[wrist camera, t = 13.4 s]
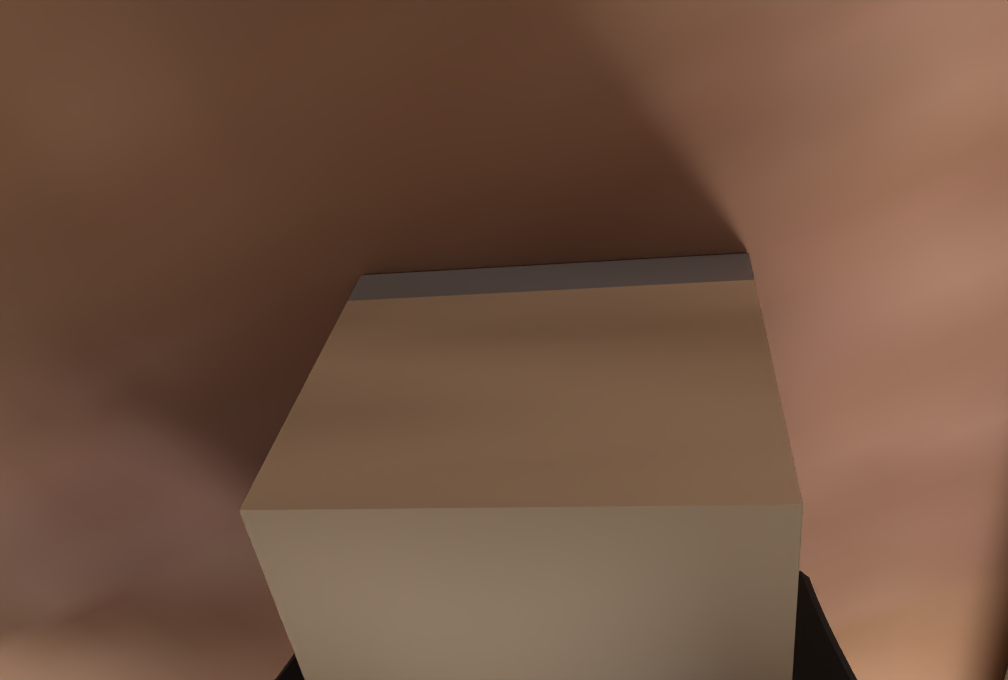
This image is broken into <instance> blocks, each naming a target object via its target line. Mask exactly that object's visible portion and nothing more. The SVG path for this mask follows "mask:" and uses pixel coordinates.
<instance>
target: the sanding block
mask: <svg viewBox="0 0 1008 680" xmlns="http://www.w3.org/2000/svg"><path fill="white" fill-rule="evenodd" d="M239 512H240V514H241V517H242V519H243V522H244V525H245V527H246V530H247V532H248V535H249V537H250V540H251V543H252V545H253V548H254V550H255V553H256V556H257V558H258V561H259V563H260V566H261V568H262V571H263V574H264V576H265V579H266V581H267V584H268V586H269V589H270V592H271V594H272V597H273V599H274V602H275V604H276V607H277V610H278V612H279V615H280V617H281V620H282V622H283V625H284V628H285V630H286V633H287V635H288V638H289V641H290V643H291V646H292V648H293V651H294V653H295V656H296V659H297V661H298V664H299V666H300V669H301V671H302V674H303V677H304V679H305V680H792V674H793V658H794V642H795V626H796V610H797V594H798V578H799V562H800V546H801V530H802V514H803V502H802V497H801V492H800V488H799V483H798V479H797V474H796V469H795V465H794V460H793V455H792V451H791V446H790V442H789V437H788V432H787V428H786V423H785V419H784V414H783V409H782V405H781V400H780V396H779V391H778V386H777V382H776V377H775V372H774V368H773V363H772V359H771V354H770V349H769V345H768V340H767V336H766V331H765V326H764V322H763V317H762V313H761V308H760V303H759V299H758V294H757V290H756V285H755V280H754V276H753V271H752V266H751V262H750V257H749V253H742V254H724V255H707V256H689V257H672V258H654V259H637V260H619V261H602V262H584V263H567V264H549V265H532V266H514V267H497V268H479V269H462V270H444V271H427V272H409V273H392V274H374V275H361V276H360V278H359V280H358V282H357V284H356V286H355V287H354V289H353V291H352V293H351V295H350V297H349V299H348V301H347V303H346V305H345V307H344V309H343V311H342V313H341V314H340V316H339V318H338V320H337V322H336V324H335V326H334V328H333V330H332V332H331V334H330V336H329V338H328V340H327V341H326V343H325V345H324V347H323V349H322V351H321V353H320V355H319V357H318V359H317V361H316V363H315V365H314V367H313V368H312V370H311V372H310V374H309V376H308V378H307V380H306V382H305V384H304V386H303V388H302V390H301V392H300V394H299V395H298V397H297V399H296V401H295V403H294V405H293V407H292V409H291V411H290V413H289V415H288V417H287V419H286V421H285V422H284V424H283V426H282V428H281V430H280V432H279V434H278V436H277V438H276V440H275V442H274V444H273V446H272V448H271V449H270V451H269V453H268V455H267V457H266V459H265V461H264V463H263V465H262V467H261V469H260V471H259V473H258V475H257V476H256V478H255V480H254V482H253V484H252V486H251V488H250V490H249V492H248V494H247V496H246V498H245V500H244V502H243V503H242V505H241V507H240V509H239Z"/></svg>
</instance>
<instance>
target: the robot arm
mask: <svg viewBox="0 0 1008 680" xmlns="http://www.w3.org/2000/svg"><path fill="white" fill-rule="evenodd" d="M275 680H305V679H304V677H303V674H302V671H301V669H300V666H299V664H298V661H297V659H296V656H295V653H294V655H293V656H292V658H291V659H290V660H289V662H288V663H287V665H286V666H285V667H284V669H283V670H282V671H281V673H280V674H279V675H278V677H277V678H276V679H275ZM792 680H857V679H856V677H855V675H854V673H853V671H852V669H851V667H850V665H849V664H848V662H847V660H846V658H845V656H844V654H843V652H842V650H841V648H840V646H839V644H838V642H837V640H836V638H835V636H834V634H833V632H832V630H831V628H830V626H829V624H828V621H827V619H826V617H825V615H824V613H823V611H822V608H821V606H820V604H819V601H818V599H817V596H816V594H815V592H814V589H813V586H812V584H811V581H810V578H809V577H808V576H806V575H805V574H804V573H803V572H801V571H799V578H798V594H797V610H796V626H795V642H794V658H793V674H792Z"/></svg>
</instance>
